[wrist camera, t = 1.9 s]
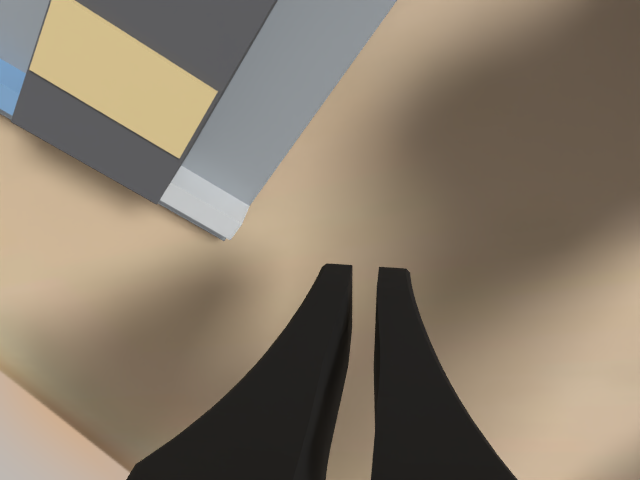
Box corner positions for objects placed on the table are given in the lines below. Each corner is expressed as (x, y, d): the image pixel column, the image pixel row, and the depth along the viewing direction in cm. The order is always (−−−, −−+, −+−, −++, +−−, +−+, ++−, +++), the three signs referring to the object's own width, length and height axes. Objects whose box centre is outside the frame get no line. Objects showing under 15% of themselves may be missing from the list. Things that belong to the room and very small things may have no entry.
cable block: (337, -103, 16) (319, -76, 14) (189, 151, 22) (155, 207, 19) (176, -226, 15) (119, -226, 12) (64, 76, 21) (7, 123, 18)
